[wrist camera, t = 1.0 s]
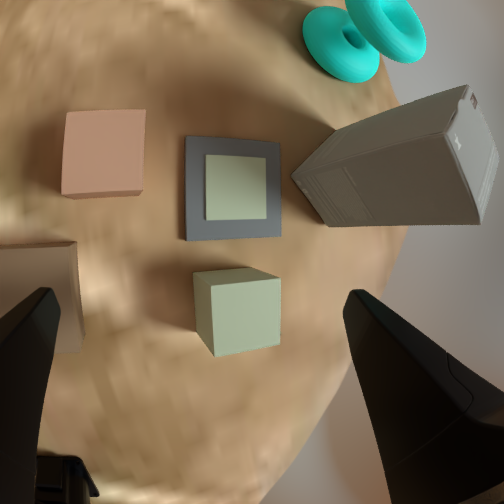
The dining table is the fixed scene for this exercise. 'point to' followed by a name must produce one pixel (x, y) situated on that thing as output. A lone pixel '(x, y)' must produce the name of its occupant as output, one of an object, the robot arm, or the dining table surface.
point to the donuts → (363, 37)
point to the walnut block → (45, 285)
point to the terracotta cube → (103, 153)
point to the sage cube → (237, 309)
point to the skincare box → (405, 166)
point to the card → (231, 188)
